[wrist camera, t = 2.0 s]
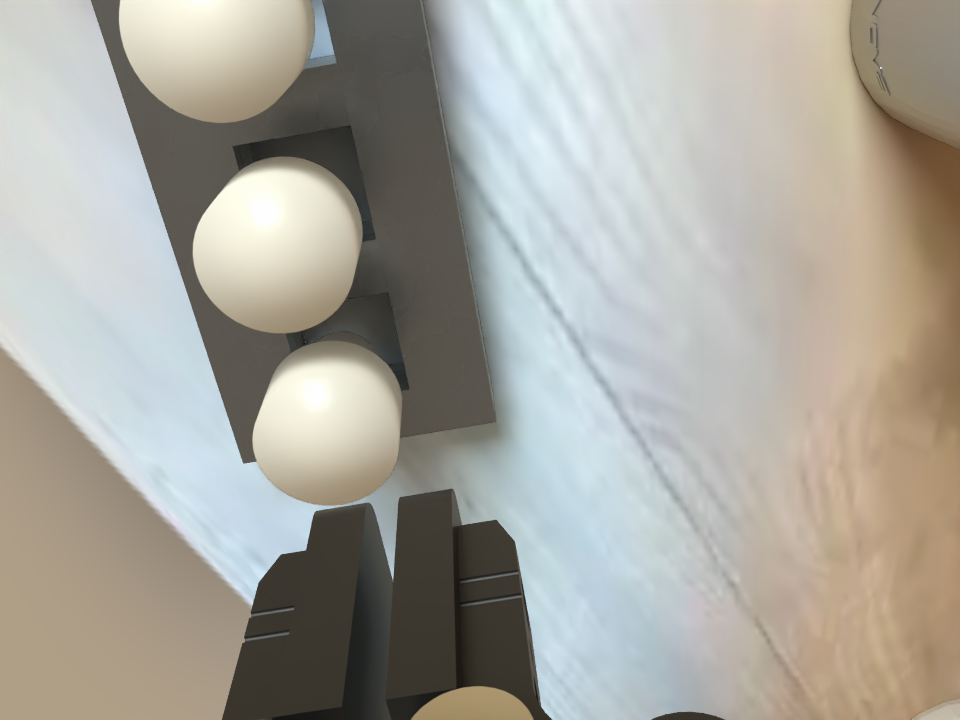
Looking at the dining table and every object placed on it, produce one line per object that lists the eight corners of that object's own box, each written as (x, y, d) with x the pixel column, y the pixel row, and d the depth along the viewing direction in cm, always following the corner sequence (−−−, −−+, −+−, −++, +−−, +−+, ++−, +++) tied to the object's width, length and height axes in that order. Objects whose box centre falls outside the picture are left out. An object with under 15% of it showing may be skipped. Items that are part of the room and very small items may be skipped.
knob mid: (352, 123, 29) (334, 167, 24) (381, 252, 31) (370, 319, 26) (218, 147, 29) (171, 196, 24) (255, 274, 31) (219, 344, 26)
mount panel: (393, -161, 29) (390, -167, 27) (492, 392, 37) (496, 421, 35) (85, -103, 29) (56, -105, 27) (254, 432, 38) (243, 463, 36)
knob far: (391, 295, 32) (382, 369, 27) (415, 404, 34) (411, 493, 29) (267, 316, 32) (234, 393, 27) (299, 423, 34) (273, 515, 29)
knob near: (306, -82, 27) (275, -82, 21) (341, 72, 29) (320, 106, 23) (160, -55, 27) (92, -49, 22) (204, 97, 29) (152, 136, 23)
